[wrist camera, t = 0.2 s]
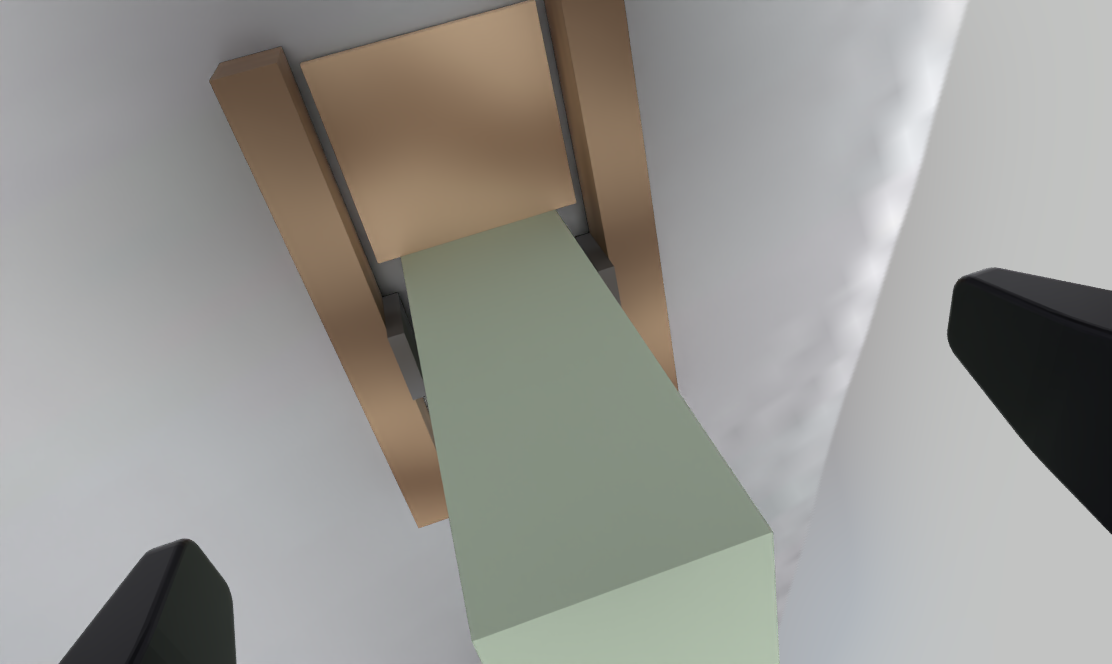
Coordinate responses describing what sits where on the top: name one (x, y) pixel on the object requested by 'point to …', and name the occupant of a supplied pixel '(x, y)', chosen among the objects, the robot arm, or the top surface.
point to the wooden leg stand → (380, 322)
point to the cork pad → (445, 129)
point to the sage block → (578, 468)
